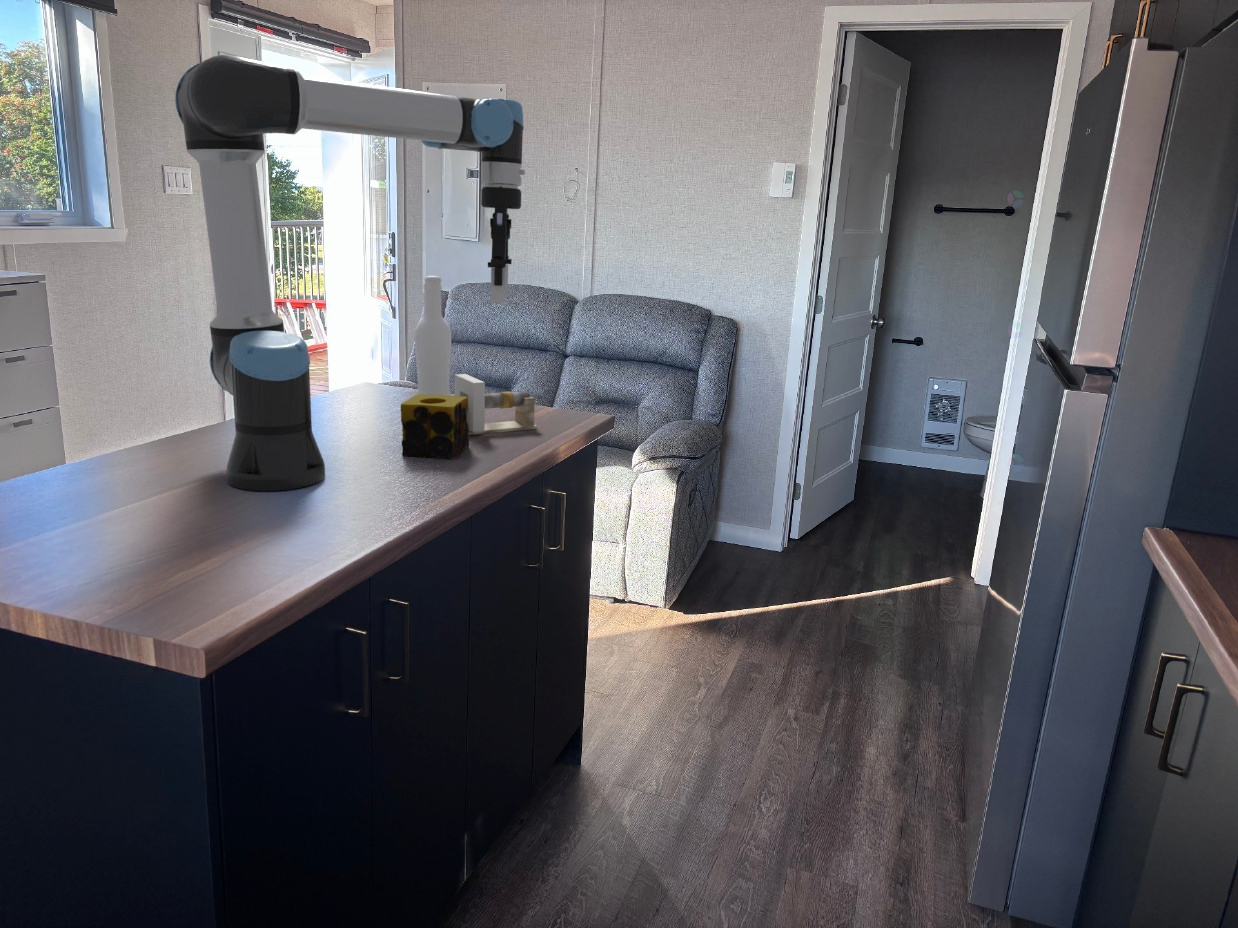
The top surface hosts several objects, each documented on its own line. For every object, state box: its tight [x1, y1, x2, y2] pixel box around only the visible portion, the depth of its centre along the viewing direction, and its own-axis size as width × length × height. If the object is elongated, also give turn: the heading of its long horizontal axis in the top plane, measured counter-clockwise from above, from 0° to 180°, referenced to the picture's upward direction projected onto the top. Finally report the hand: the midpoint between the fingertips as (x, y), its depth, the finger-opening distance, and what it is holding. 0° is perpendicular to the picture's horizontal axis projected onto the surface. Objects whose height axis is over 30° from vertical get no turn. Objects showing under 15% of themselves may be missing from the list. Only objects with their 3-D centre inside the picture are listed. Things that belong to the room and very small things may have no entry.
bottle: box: [413, 275, 452, 396], centre depth 199 cm, size 8×8×30 cm
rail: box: [464, 390, 538, 436], centre depth 190 cm, size 19×6×8 cm, turn 121°
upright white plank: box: [454, 373, 486, 432], centre depth 187 cm, size 2×10×10 cm, turn 31°
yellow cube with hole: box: [400, 393, 470, 460], centre depth 171 cm, size 10×10×10 cm
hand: (499, 300), depth 180 cm, fingers open, 13 cm apart
